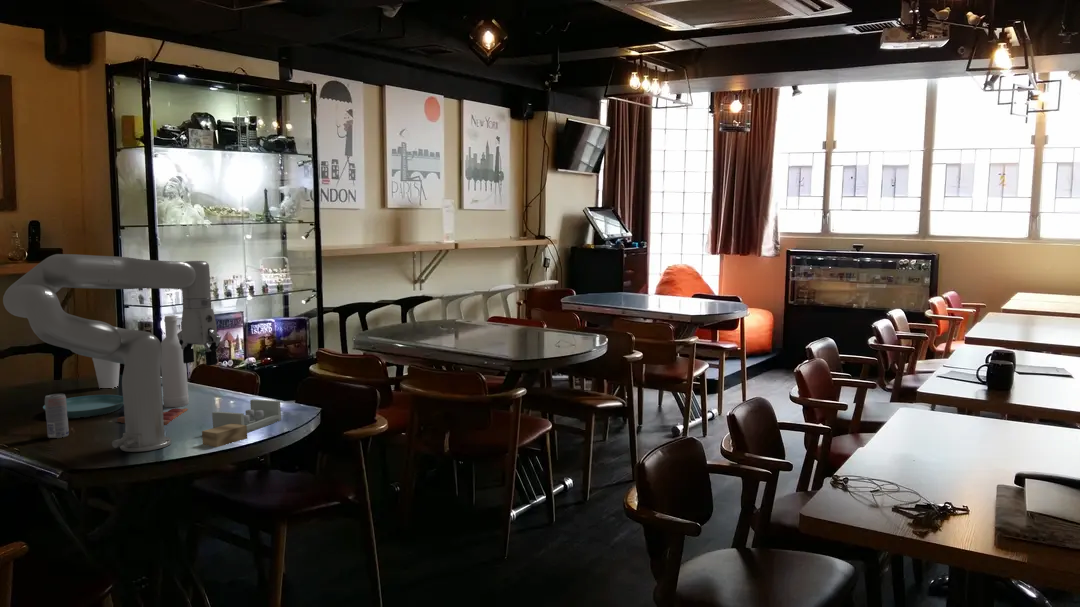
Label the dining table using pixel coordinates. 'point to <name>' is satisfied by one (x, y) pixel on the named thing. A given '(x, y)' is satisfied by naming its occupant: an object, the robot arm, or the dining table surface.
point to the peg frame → (251, 415)
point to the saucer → (92, 405)
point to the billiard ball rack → (164, 415)
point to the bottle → (173, 367)
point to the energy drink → (56, 416)
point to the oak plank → (224, 434)
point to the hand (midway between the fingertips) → (200, 363)
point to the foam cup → (106, 373)
